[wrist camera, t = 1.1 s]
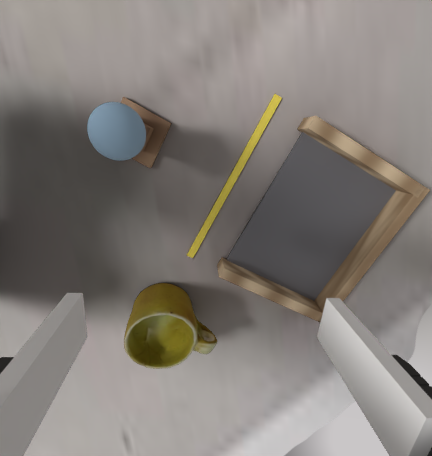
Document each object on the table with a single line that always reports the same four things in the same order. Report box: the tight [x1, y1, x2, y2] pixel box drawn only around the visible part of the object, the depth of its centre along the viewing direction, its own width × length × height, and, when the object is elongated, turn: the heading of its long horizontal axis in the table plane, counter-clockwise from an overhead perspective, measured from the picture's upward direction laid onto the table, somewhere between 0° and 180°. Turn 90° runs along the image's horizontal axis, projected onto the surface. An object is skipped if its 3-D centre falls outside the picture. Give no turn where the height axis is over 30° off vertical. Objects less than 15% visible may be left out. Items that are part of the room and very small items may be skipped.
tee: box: [121, 97, 171, 168], centre depth 29 cm, size 6×6×6 cm
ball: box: [87, 102, 146, 161], centre depth 24 cm, size 5×5×5 cm
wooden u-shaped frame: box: [217, 116, 430, 322], centre depth 36 cm, size 18×23×4 cm
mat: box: [227, 132, 396, 301], centre depth 37 cm, size 16×20×1 cm
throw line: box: [187, 94, 282, 258], centre depth 34 cm, size 1×24×1 cm, turn 152°
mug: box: [124, 283, 217, 369], centre depth 37 cm, size 12×10×10 cm
